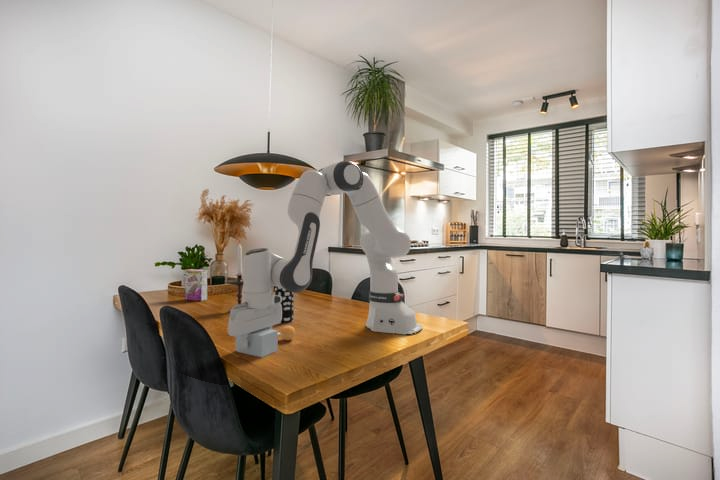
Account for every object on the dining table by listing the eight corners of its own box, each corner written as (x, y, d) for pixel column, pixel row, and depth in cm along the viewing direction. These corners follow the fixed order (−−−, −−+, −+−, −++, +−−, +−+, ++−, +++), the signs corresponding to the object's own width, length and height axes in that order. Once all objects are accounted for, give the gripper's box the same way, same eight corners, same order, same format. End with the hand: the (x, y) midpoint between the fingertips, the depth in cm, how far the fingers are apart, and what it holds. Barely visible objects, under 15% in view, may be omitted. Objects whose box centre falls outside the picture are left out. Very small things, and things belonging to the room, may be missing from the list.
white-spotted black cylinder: (288, 324, 148) (289, 275, 147) (269, 322, 149) (270, 274, 149) (296, 319, 156) (296, 273, 155) (278, 318, 157) (278, 272, 157)
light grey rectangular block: (277, 350, 115) (277, 330, 114) (261, 357, 108) (261, 335, 108) (251, 345, 120) (252, 325, 120) (235, 351, 114) (235, 330, 113)
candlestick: (223, 310, 170) (223, 236, 169) (244, 307, 178) (244, 236, 177) (234, 314, 163) (234, 237, 162) (255, 311, 170) (256, 237, 170)
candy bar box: (184, 300, 195) (184, 269, 194) (191, 298, 199) (191, 269, 199) (201, 301, 191) (201, 270, 191) (207, 300, 196) (207, 269, 196)
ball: (298, 339, 127) (298, 325, 127) (288, 343, 123) (289, 328, 122) (287, 337, 129) (287, 323, 129) (277, 340, 125) (277, 326, 125)
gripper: (238, 307, 103) (238, 355, 103) (285, 296, 121) (285, 337, 121) (223, 304, 106) (222, 351, 106) (271, 294, 124) (270, 334, 124)
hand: (256, 343), depth 114 cm, fingers open, 7 cm apart
